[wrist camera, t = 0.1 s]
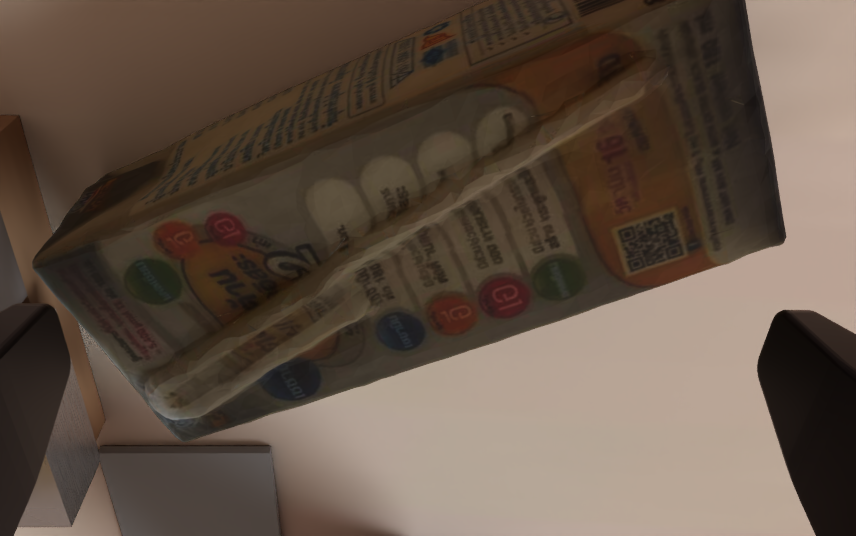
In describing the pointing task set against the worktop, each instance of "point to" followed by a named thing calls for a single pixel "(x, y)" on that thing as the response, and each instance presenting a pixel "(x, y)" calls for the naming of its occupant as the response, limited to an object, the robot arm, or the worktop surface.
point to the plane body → (33, 253)
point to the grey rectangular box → (64, 464)
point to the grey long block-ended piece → (424, 204)
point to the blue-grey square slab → (192, 490)
